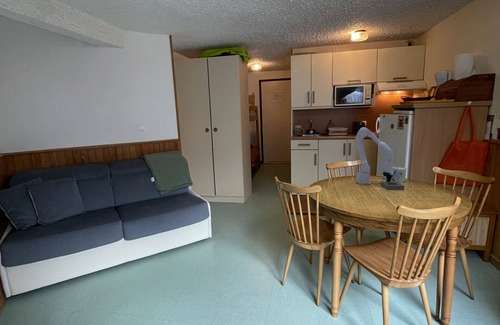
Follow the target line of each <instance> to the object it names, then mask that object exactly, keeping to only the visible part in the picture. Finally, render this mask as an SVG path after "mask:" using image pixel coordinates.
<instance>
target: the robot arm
mask: <svg viewBox="0 0 500 325" xmlns="http://www.w3.org/2000/svg"><path fill="white" fill-rule="evenodd" d="M366 137H367V138H370V139H371V140H373V141H374V143H376V144H377V148H378V149H379V150H380V151H381V152H382V153H383V154H384V155H385V156H384V168H382V176H383V177H384V176H386V178H387V182H390V181H391V179H392V177H393V175H394V172H393V171H394V170H392V168H393V167H394V166H393V165H394V156H395V152H394V150H392V148H391V147H390V146H388V145H387V142H385V141H381V140H380V139H379V138H378V137H377V135H375V133H373V131H371V130H370V129H368V128H367V127H365V126H363V127H360V129H358V131H357V134H356V136H355V139H354V140H355V144H356V148H357V151H358V152H357V153H358V156H359V160H360V171H356V181H355V182H356V183H357V184H359V185H361V184H362V185H363V184H364V185H365V184H366V185H368V184H369V185H370V184H372V182H371V181H370V179H371V166H370V165H369V163H368V160H367V156H366V152H365V148H364V144H363V140H364V138H366ZM391 182H392V181H391Z"/></svg>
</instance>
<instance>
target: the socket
mask: <svg viewBox="0 0 500 325" xmlns="http://www.w3.org/2000/svg"><path fill="white" fill-rule="evenodd" d="M380 187H381V188H383V189H385V190H387V191H401V190H402V191H404V190H405V185H404V184H402V183H401V182H396V181H391V182H383V181H381V182H380Z"/></svg>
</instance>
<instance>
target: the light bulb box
mask: <svg viewBox="0 0 500 325" xmlns="http://www.w3.org/2000/svg"><path fill="white" fill-rule="evenodd" d="M392 170H394V171H393V172H394V175H393V177H392V180H391V182H398V183H404V182H406V176H407V168H405V167H398V166H393V168H392Z"/></svg>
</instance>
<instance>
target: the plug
mask: <svg viewBox="0 0 500 325" xmlns="http://www.w3.org/2000/svg"><path fill="white" fill-rule="evenodd" d="M381 179H382V180H383V181H382V182H387V178H386V176H384V175H383V177H381ZM391 180H392V179H391ZM390 182H392V181H390Z"/></svg>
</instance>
